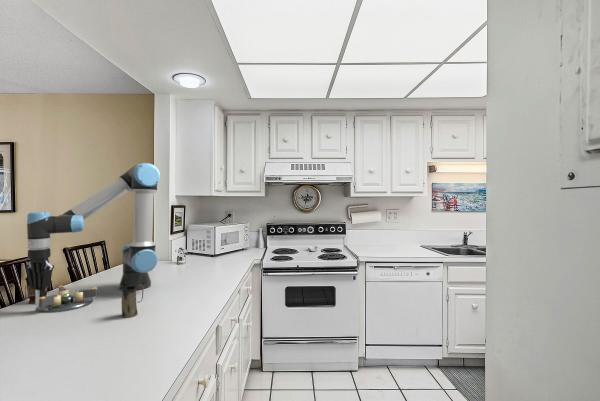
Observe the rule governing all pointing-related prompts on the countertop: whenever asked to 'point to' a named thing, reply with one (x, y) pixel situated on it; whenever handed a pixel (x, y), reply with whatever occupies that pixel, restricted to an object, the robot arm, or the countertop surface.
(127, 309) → the mug
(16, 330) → the countertop surface
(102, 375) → the countertop surface
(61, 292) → the knob
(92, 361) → the countertop surface
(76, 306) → the candle tray
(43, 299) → the knob
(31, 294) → the coffee cup
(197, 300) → the countertop surface
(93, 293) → the knob
